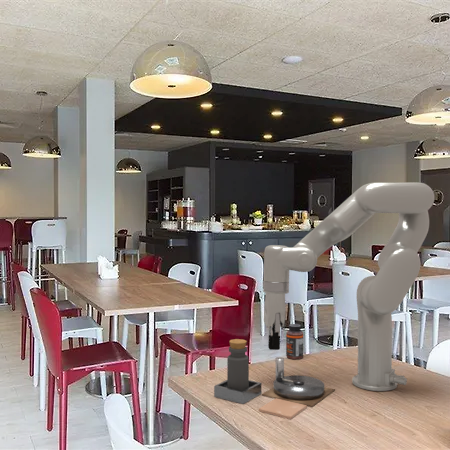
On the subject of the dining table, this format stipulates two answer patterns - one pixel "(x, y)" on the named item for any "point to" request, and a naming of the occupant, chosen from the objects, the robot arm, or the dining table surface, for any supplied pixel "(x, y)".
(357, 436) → the dining table surface
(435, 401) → the dining table surface
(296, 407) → the pad
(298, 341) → the supplement bottle
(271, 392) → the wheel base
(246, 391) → the collar
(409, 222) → the robot arm
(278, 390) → the handwheel
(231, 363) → the bottle
